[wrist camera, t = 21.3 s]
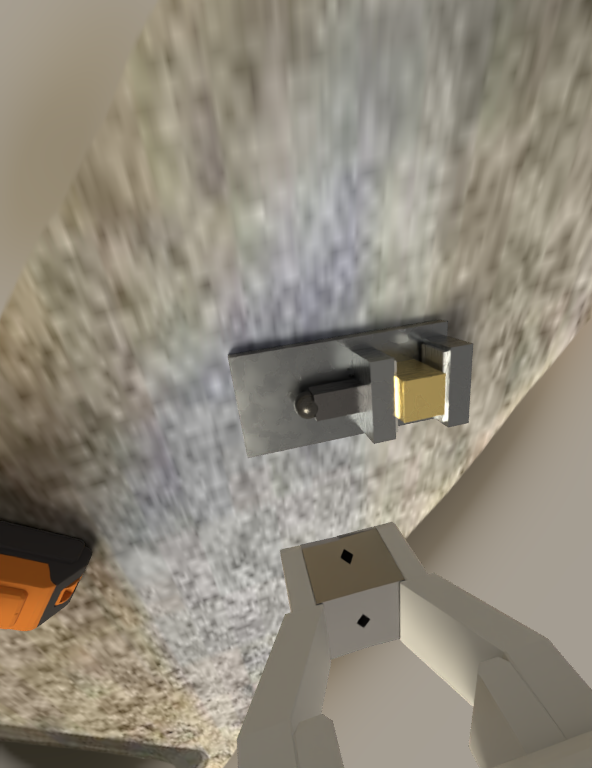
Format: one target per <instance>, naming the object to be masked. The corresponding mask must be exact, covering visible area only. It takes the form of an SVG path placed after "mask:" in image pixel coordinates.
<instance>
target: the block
mask: <svg viewBox="0 0 592 768" xmlns="http://www.w3.org/2000/svg"><path fill="white" fill-rule="evenodd" d="M445 383H446V374H445V373H443V372H441V371H439V370H437V369H435V368H432V367H430V366H428V365H426V364H424V363H422V362H420V361H417V360H415V359H412V360H406V361H401V362H397V407H398V418H399V419H400V420H401V421H403V422H404V423H407V422H412V421H416V420H421V419H426V418H431V417H435V416H440V415H445Z"/></svg>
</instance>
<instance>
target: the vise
mask: <svg viewBox="0 0 592 768" xmlns="http://www.w3.org/2000/svg"><path fill="white" fill-rule="evenodd" d="M447 330H448V321H444V320H434V321H428V322H422V323H416V324H410V325H404V326H398V327H392V328H386V329H380V330H374V331H368V332H362V333H356V334H350V335H344V336H338V337H332V338H326V339H320V340H314V341H308V342H302V343H296V344H290V345H284V346H278V347H272V348H266V349H260V350H254V351H248V352H242V353H236V354H230V355H228V360H229V365H230V371H231V376H232V381H233V386H234V391H235V396H236V401H237V406H238V411H239V416H240V421H241V426H242V431H243V436H244V441H245V447H246V452H247V457H248V458H250V457H255V456H260V455H264V454H269V453H274V452H278V451H283V450H288V449H293V448H297V447H302V446H307V445H311V444H316V443H321V442H325V441H330V440H335V439H340V438H344V437H349V436H354V435H358V434H363V433H364V432H363V430H362V429H361V428H360V427H359V426H358V425H357V420H356V414H351V415H346V416H341V417H336V418H331V419H326V420H321V421H316V420H315V418H312V419H304V418H301V417H300V416H298V415H297V413H296V412H295V409H294V401H295V398H296V397H297V395H298V394H300V393H301V392H304V391H308V387H313V386H318V385H323V384H329V383H334V382H339V381H345V380H350V379H354V375H353V360H352V351H355V350H361V349H366V348H372V347H374V348H375V349H377V350H379V351H381V352H383V353H385V354H387V355H389V356H391V357H393V358H394V360H396V361H397V362H401V361H406V360H412V359H415V360H417V361H420V362H422V363H424V364H426V365H428V366H430V367H432V368H435V369H437V370H439V371H441V372H443V373H445V374H446V383H445V415H440V416H435V417H431V418H426V419H421V420H416V421H412V422H407V423H404V422H403V421H401V420H400V419H399V418H398V426H401V425H405V424H410V423H415V422H419V421H424V420H429V419H434V418H435V419H437V420H438V421H440V422H441V423H442V424H444V425H445V426H447V427H452V426H456V425H461V424H466V423H468V422H469V405H470V388H471V371H472V354H473V344H472V343H469V342H466V341H462V340H459V339H455V338H452V337H449V336H447Z"/></svg>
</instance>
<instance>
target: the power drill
mask: <svg viewBox="0 0 592 768" xmlns="http://www.w3.org/2000/svg"><path fill="white" fill-rule="evenodd" d="M91 556H92V551H91V549H90V548H88V547H86V546H85V543H84V542H83V540H81V539H76V538H72V537H68V536H64V535H60V534H55V533H51V532H47V531H43V530H38V529H34V528H30V527H26V526H22V525H17V524H13V523H9V522H5V521H1V520H0V628H2V629H14V630H21V631H29V630H33V629H34V628H36V627H38V626H40V625H41V624H42V623H44V622H45V621H46V620H48V619H49V618H50V617H52V616H53V615H54V614H56V613H57V612H58V611H60V610H61V609H62V608H64V607H65V606H66V605H67V604H68V603H69V602H70V600H71V598H72V596H73V594H74V592H75V589H76V587H77V585H78V583H79V581H80V579H81V577H82V575H83V573H84V571H85V569H86V567H87V565H88V563H89V560H90V558H91Z"/></svg>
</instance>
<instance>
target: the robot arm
mask: <svg viewBox="0 0 592 768" xmlns="http://www.w3.org/2000/svg"><path fill="white" fill-rule="evenodd" d="M280 553H281V560H282V566H283V571H284V577H285V583H286V588H287V594H288V600H289V605H290V610H291V613H288V614H285V616H284V619H283V621H282V624H281V627H280V629H279V632H278V634H277V637H276V640H275V642H274V645H273V647H272V650H271V653H270V655H269V658H268V660H267V663H266V665H265V668H264V671H263V673H262V676H261V678H260V681H259V684H258V686H257V689H256V691H255V694H254V697H253V699H252V702H251V704H250V707H249V709H248V712H247V715H246V717H245V720H244V722H243V725H242V728H241V730H240V733H239V735H238V738H237V751H238V768H344V765H343V761H342V758H341V753H340V749H339V745H338V741H337V737H336V733H335V729H334V724H333V721H332V720H331V719H329V718H328V717H326V716H325V715H323V714H321V712H322V706H323V701H324V696H325V691H326V686H327V680H328V676H329V670H330V665H331V659H334V658H337V657H340V656H343V655H346V654H349V653H352V652H355V651H358V650H360V649H364V648H367V647H370V646H374V645H378V644H382V643H386V642H389V641H393V640H397V639H400V638H401V642H403V643H404V644H405V645H406V646H407V647H408V648H409V649H410V650H411V651H412V652H414V653H415V654H416V655H417V656H418V657H419V658H420V659H421V660H422V661H423V662H424V663H425V664H427V665H428V666H429V667H430V668H431V669H432V670H433V671H434V672H435V673H436V674H438V675H439V676H440V677H441V678H442V679H443V680H444V681H445V682H446V683H447V684H449V685H450V686H451V687H452V688H453V689H454V690H455V691H456V692H457V693H458V694H459V695H461V696H462V697H463V698H464V699H465V700H466V701H467V702H468V703H469V704H471V705H472V706H473V715H472V723H471V731H470V738H469V748H470V750H471V752H472V754H473V756H474V758H475V760H476V762H477V764H478V766H479V768H592V690H591V688H590V687H589V686H588V685H587V684H586V683H585V681H584V680H583V679H582V678H581V677H580V676H579V674H578V673H577V672H576V671H575V670H574V669H573V667H572V666H571V665H570V664H569V663H568V662H567V661H566V659H565V658H564V657H563V656H562V655H561V653H560V652H559V651H558V650H557V649H556V648H555V647H554V645H553V644H552V643H551V642H550V641H549V639H547V638H546V637H544V636H542V635H541V634H539V633H537V632H535V631H534V630H532V629H530V628H528V627H527V626H525V625H523V624H522V623H520V622H518V621H516V620H515V619H513V618H511V617H510V616H508V615H506V614H504V613H503V612H501V611H499V610H497V609H496V608H494V607H492V606H490V605H489V604H487V603H485V602H484V601H482V600H480V599H479V598H477V597H475V596H473V595H471V594H470V593H468V592H466V591H465V590H463V589H461V588H459V587H458V586H456V585H454V584H453V583H451V582H449V581H447V580H446V579H444V578H442V577H441V576H439V575H437V574H435V573H431V574H428V573H427V572H426V570H425V569H424V567H423V566H422V564H421V563H420V561H419V560H418V558H417V557H416V555H415V553H414V552H413V550H412V549H411V547H410V546H409V544H408V543H407V541H406V540H405V538H404V537H403V535H402V534H401V532H400V531H399V529H398V528H397V526H396V525H395V524H394V523H393V522H390V523H386V524H382V525H378V526H374V527H370V528H366V529H362V530H359V531H355V532H351V533H347V534H343V535H340V536H337V537H333V538H329V539H324V540H320V541H315V542H311V543H306V544H302V545H300V546H295V547H290V548H286V549H281V550H280Z"/></svg>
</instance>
